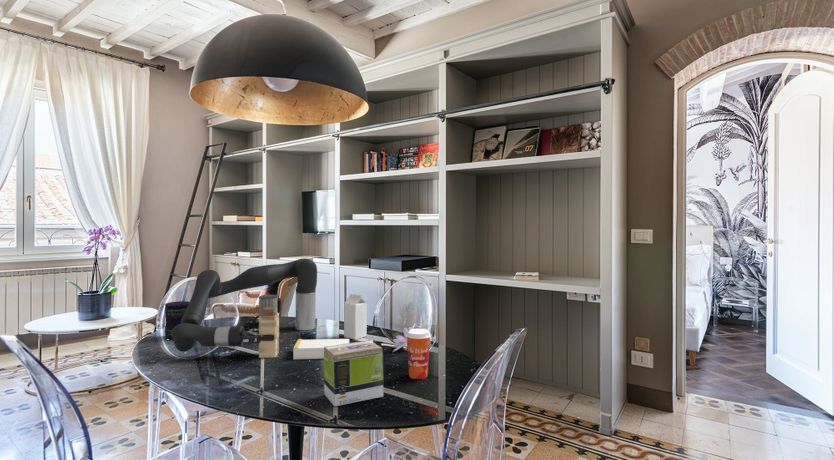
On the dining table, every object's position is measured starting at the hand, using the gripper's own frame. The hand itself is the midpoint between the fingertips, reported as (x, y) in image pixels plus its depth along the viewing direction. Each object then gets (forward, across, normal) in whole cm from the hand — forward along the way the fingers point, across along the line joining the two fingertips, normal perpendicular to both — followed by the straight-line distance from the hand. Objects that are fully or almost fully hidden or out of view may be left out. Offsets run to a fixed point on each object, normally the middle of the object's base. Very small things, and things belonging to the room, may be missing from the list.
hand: (275, 335), depth 168 cm
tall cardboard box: (-2, 0, +8) cm, 8 cm away
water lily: (+49, +4, +8) cm, 50 cm away
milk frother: (-16, +50, +8) cm, 53 cm away
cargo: (-2, 0, -6) cm, 7 cm away
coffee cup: (+52, -28, +8) cm, 59 cm away
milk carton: (+30, +24, +8) cm, 39 cm away
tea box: (+31, -43, +8) cm, 53 cm away
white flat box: (+18, 0, +8) cm, 19 cm away
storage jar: (-47, +30, +8) cm, 57 cm away
